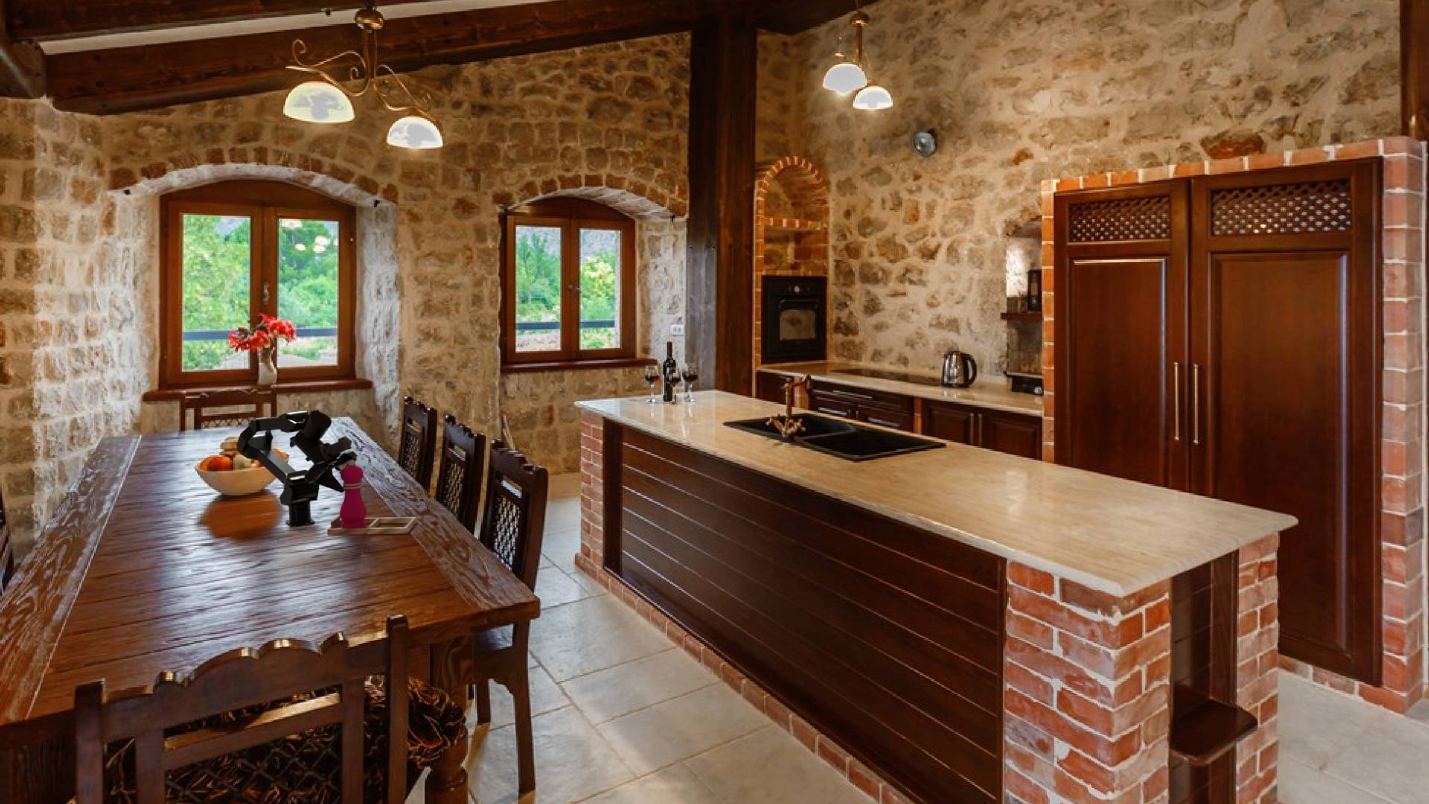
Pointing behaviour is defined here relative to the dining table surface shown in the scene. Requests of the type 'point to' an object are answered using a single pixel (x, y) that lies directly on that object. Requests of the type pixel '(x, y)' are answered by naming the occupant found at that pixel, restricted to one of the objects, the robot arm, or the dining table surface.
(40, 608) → the dining table surface
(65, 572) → the dining table surface
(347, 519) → the pepper mill
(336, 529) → the rack
